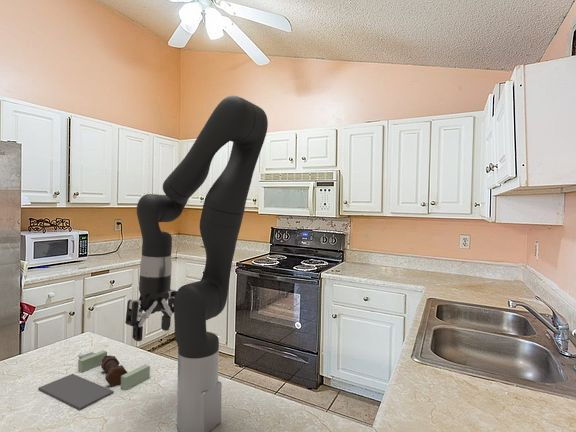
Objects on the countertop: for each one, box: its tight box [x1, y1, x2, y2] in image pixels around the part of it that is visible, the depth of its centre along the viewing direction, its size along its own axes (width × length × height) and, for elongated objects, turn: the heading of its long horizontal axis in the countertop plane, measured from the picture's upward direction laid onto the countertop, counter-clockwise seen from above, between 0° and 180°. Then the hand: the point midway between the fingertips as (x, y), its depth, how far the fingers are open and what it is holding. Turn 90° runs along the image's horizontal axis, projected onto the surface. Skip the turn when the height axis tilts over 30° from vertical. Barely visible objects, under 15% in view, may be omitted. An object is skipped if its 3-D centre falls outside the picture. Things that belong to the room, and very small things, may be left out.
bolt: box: [100, 354, 128, 388], centre depth 100 cm, size 6×5×15 cm
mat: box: [37, 373, 115, 411], centre depth 90 cm, size 19×9×1 cm, turn 62°
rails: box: [77, 349, 151, 391], centre depth 101 cm, size 28×8×4 cm, turn 62°
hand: (152, 334), depth 86 cm, fingers open, 8 cm apart
